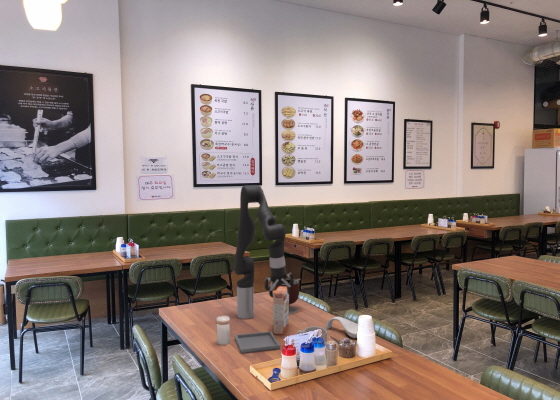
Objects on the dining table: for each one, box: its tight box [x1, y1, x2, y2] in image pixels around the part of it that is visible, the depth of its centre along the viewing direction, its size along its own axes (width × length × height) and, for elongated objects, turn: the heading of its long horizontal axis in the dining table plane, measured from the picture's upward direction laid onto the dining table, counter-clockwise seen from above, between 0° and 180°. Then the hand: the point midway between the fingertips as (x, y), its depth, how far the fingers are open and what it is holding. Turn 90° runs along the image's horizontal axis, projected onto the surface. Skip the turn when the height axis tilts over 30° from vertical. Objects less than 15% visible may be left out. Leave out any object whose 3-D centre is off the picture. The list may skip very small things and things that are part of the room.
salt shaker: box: [216, 315, 231, 346], centre depth 210 cm, size 6×6×12 cm
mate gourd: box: [274, 278, 301, 315], centre depth 256 cm, size 16×14×20 cm
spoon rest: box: [325, 316, 358, 339], centre depth 221 cm, size 24×12×7 cm, turn 49°
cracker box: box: [272, 286, 290, 335], centre depth 226 cm, size 14×6×21 cm, turn 168°
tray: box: [234, 330, 281, 355], centre depth 208 cm, size 18×18×2 cm
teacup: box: [296, 325, 328, 343], centre depth 205 cm, size 14×11×8 cm
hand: (280, 295), depth 218 cm, fingers open, 8 cm apart
